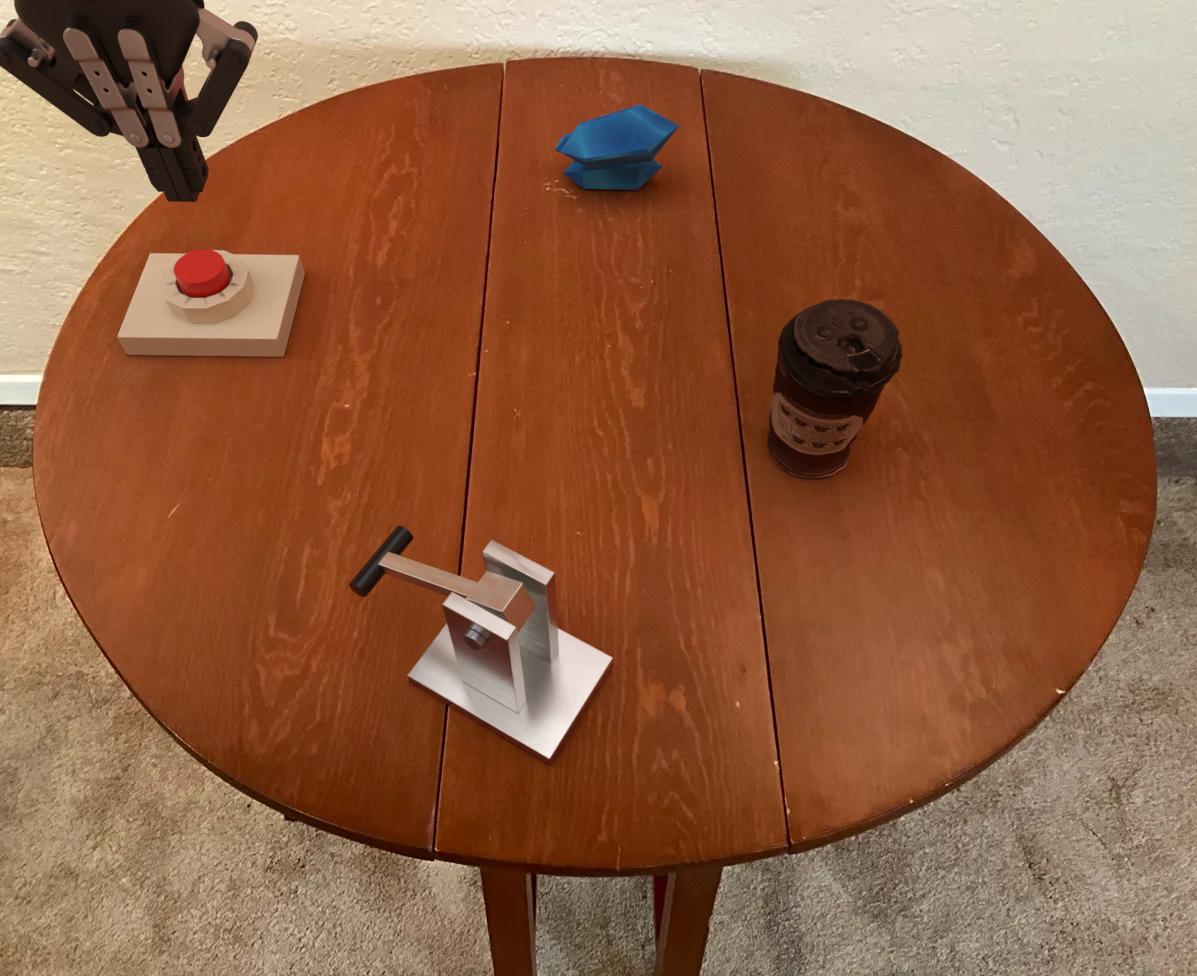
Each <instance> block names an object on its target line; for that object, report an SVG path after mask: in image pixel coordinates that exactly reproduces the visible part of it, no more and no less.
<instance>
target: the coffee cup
mask: <svg viewBox="0 0 1197 976" xmlns="http://www.w3.org/2000/svg"><path fill="white" fill-rule="evenodd" d="M899 333H900V330H899V328H898V326H897V325H896V324H895V322H894V321H893V320H892V319H891V318H889V316H888V315H886V314H885V313H884V312H883V311H882V310H880V309H878V308H877V307H876V306H873V305H872V304H869V303H866V302H863V301H859V300H856V299H844V298H840V299H837V298H836V299H827V300H824V301H821V302H819V303H816V304H813V305H811V306H809V307H807V308H804V309H803V310H801V311H800V312H798V313H797V314H795V315H794V317H792V318H791V319H790V320H789V321H788V322H787V323H786V324H785V325H784V326H783V327H782V329H781V331H780V335H779V337H778V340H777V357H776V358H777V359H776V364H775V369H774V379H773V383H772V384H773V385H772V397H771V405H770V409H769V418H768V427H769V428H768V434H767V440H766V444H767V448H768V451H769V454H770V457H771V459H772V460H773V461H774V462H775V464H777V466H778V467H780V468H781V469H783V470H784V471H786V472H788V473H789V474H792V475H793V476H797V477H801V478H807V479H820V478H826V477H831V476H833V475H835V474H836V473H838V472H839V471H841V470H844V469H845V468H846V466H847V463H848V460H849V457H850V455H851V446H852V445H853V443H854V441H855V440H857V437H858V434H859V431H861V428H862V426H864V425H865V424H866V423H867V422H868V420H869V418H870V416H871V415H872V413H873V411H874V410H875V407H876V405H877V403H878V401H879V398H880V396H881V393H882V391H883V389H884V388H885V386H886V384H888V383H889V382H890V381H891V380H892V378H893V377H894V376H895V374H896V373H899V370H900V368H901V367H900V365H901V361H902V358H903V345H902V343H901V341H900V338H899Z"/></svg>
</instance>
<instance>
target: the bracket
mask: <svg viewBox="0 0 1197 976" xmlns="http://www.w3.org/2000/svg"><path fill="white" fill-rule="evenodd" d="M482 558H483V563H484V569H485V572H486V571H489V572H492V573H495V574H498V575H501V576H504V577H507V578H510V579H513V580H517V581H520V582H522V583H524V585H525V587H526V589H527V591H528V593H529V594H530V596H531V598H532V600H533V602H534V604H535V605H536V609H535V610H534V611H533V613H532V614H531V616H530V617H529V619H528V620H527V621H526V623H525V624H524V626H523V627H522V629H521V630H520V632H519V633H517V627H516V626H514V625H513V624H511V623H509V622H507V621H505V620H503V619H502V618H500V617H498V616H496V615H494V614H492V613H491V612H489V611H487V610H485V609H483V608H482V607H480V606H478V605H476V604H474V603H472V602H471V601H469V600H467V599H465V598H463V597H462V596H460V595H458V594H456V593H454V592H451V593H450V595H449V596H446V598H445V600H444V601H443V602H442V603H441V607H442V609H443V613H444V618H445V620H446V622H445V624H444V625H443V627H442V628H441V629H440V631H439V632H438V634H437V635H436V636H435V637H434V639H433V640H432V642H431V643H430V644H429V645H428V647H427V648H426V650H425V651H424V652H423V653H422V654H421V656H420V658H419V659H418V660H417V661H416V663H415V664H414V665H413V667H412V668H411V669H410V670H409V671H408V673H407V675H406V677H407V679H408V682H409V684H411V685H412V686H414V687H416V688H418V689H419V690H421V691H423V692H425V693H426V694H427V695H430V696H431V697H433V698H434V699H436V700H438V701H440V703H441V702H442V703H443V704H445V705H447V706H448V707H450V708H452V709H453V710H455V711H457V712H458V713H461V714H462V715H463V716H465V717H467V718H469V719H470V720H472V721H473V722H476V723H477V724H479V725H480V726H482V727H484V728H486V729H487V730H489V731H491V732H493V733H494V734H496V735H497V736H499V737H501V738H502V739H504V740H505V741H507V742H509V743H511V744H513V745H515V746H516V747H518V748H520V749H521V750H523V751H525V752H526V753H528V754H530V755H531V756H533V757H534V758H536V759H538V760H540V761H542V762H543V763H544V764H546V765H549V766H551V765H552V764H553V762H554V760H555V759H556V757H557V756H558V755H559V753H560V751H561V750H562V748H563V746H564V745H565V743H566V742H567V740H568V738H569V737H570V735H571V734H572V732H573V730H574V728H575V727H576V725H577V723H578V722H579V720H580V719H581V717H582V715H583V714H584V713H585V711H586V710H587V708H588V706H589V705H590V703H591V702H592V700H593V698H594V697H595V695H596V693H597V692H598V690H599V688H600V687H601V685H602V684H603V682H604V680H605V679H606V677H607V676H608V674H609V672H610V671H611V669H612V668H613V666H614V657H613V656H611V655H609V654H608V653H606V652H604V651H602V650H600V649H598V648H596V647H595V646H593V645H591V644H589V643H588V642H586V641H583V640H582V639H580V638H578V637H576V636H575V635H573V634H571V633H569V632H567V631H565V630H563V629H561V628H560V627H558V625H559V623H558V608H557V607H558V605H557V603H558V602H557V586H556V585H557V584H556V572H555V571H553V570H551V569H550V568H547V567H545V566H544V565H542V564H539V563H538V562H536V561H534V560H532V559H530V558H528V557H526V556H525V555H523V554H521V553H518V551H515V550H513V549H511V548H509V547H508V546H505V545H503V544H502V543H500V542H498V541H496V540H494V539H491V540H489V542H488V543H487V545H486V546H485V548H484V549H483V550H482Z"/></svg>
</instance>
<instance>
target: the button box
mask: <svg viewBox="0 0 1197 976" xmlns="http://www.w3.org/2000/svg"><path fill="white" fill-rule="evenodd" d="M212 250H213V251H215V252H217V253H219V254H220V255H221V256H222V257H223V259H224V261H225V264H226V266H227V269H228V271H229V274H230V283H229V285H228V286H227V287H226V288H225V289H224V290H223V291H222V292H221V293H218V294H215V295H212V296H209V297H207V298H192V297H189V296H187V295H186V294H185V293H184V292H183V291H182V289H181V287H180V285H179V283H178V281H177V279H176V276H175V274H174V266H175V264H176V262H177V261H178V260H179V259H180V258H181V257H182V256H183V255H185V254H186V253H171V252H170V253H169V252H168V253H165V252H164V253H163V252H162V253H161V252H150V253H149V255H148V258H147V260H146V262H145V264H144V267H143V270H142V273H141V275H140V278H139V280H138V283H137V286H136V288H135V290H134V293H133V295H132V297H131V299H130V300H131V301H130V303H129V305H128V308H127V310H126V313H125V315H124V318H123V321H122V323H121V326H120V329H119V330H118V333H117V340H118V341H119V343H120V345H121V346H122V348H123V351H124V352H125V354H126V355H127V356H175V357H177V356H178V357H179V356H180V357H181V356H183V357H186V356H187V357H256V358H257V357H258V358H259V357H261V358H262V357H263V358H264V357H265V358H266V357H267V358H269V357H270V358H284V357H285V353H286V349H287V346H288V341H289V338H290V333H291V330H292V326H293V322H294V318H295V315H296V310H297V307H298V304H299V303H298V302H299V299H300V295H301V291H302V287H303V283H304V279H305V275H306V272H305V269H304V266H303V262H302V260H301V256H300V255H299V254H244V253H238V254H237V253H232V252H229V251H227V250H224V249H212Z"/></svg>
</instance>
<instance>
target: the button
mask: <svg viewBox="0 0 1197 976" xmlns="http://www.w3.org/2000/svg"><path fill="white" fill-rule="evenodd" d="M213 250H214V249H208V248H207V249H202V248H201V249H195V250H191V251H190V252H187V253H184V254H185V255H183V256H182V257H181V258H180V259H179V260H178V261H177V262H176V264H175V266H174V274H175V276H176V279H177V281H178V283H179V285H180V287H181V289H182V291H183V292H184V293H185V294H186V295H187V296H189V297H192V298H207V297H209V296H212V295H215V294H218V293H221V292H222V291H223V290H224V289H225V288H226V287H227V286H228V285H229V283H230V274H229V271H228V269H227V266H226V264H225V261H224V259H223V257H222V256H221V255H220V254H219V253H217V252H215V251H213Z"/></svg>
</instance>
